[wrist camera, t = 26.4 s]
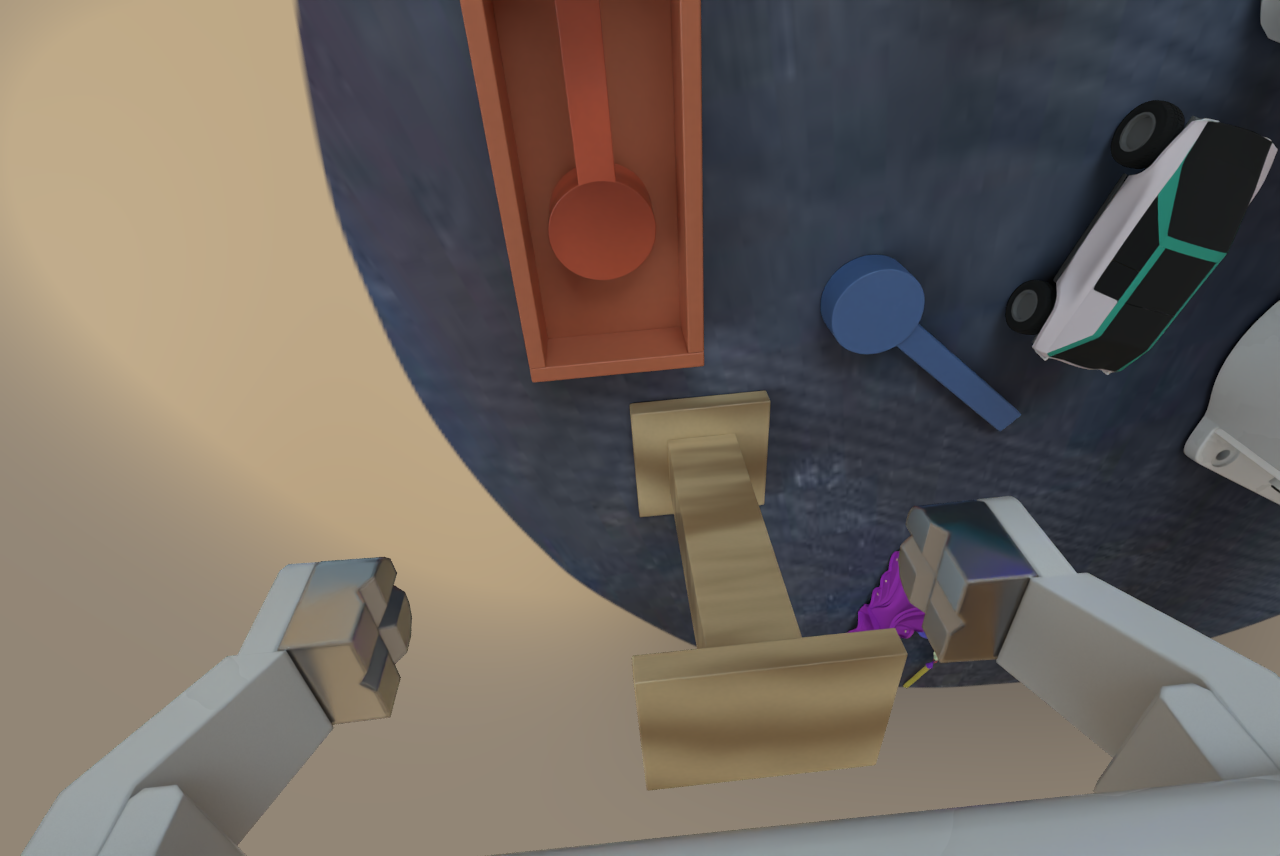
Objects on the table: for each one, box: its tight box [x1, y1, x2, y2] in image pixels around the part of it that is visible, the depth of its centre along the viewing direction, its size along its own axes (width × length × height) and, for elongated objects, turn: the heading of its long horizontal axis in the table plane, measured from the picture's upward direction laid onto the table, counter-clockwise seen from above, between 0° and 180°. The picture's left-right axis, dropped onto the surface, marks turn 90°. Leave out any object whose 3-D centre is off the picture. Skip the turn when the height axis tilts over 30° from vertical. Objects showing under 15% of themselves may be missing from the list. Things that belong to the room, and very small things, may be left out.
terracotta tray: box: [460, 0, 704, 382], centre depth 29 cm, size 19×9×4 cm, turn 4°
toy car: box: [1005, 100, 1278, 375], centre depth 32 cm, size 6×12×5 cm, turn 165°
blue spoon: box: [820, 255, 1021, 431], centre depth 37 cm, size 16×5×2 cm, turn 52°
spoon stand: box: [629, 391, 907, 790], centre depth 33 cm, size 8×10×18 cm
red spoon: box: [548, 0, 656, 280], centre depth 26 cm, size 16×5×2 cm, turn 4°
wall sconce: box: [848, 551, 938, 688], centre depth 50 cm, size 10×6×20 cm
